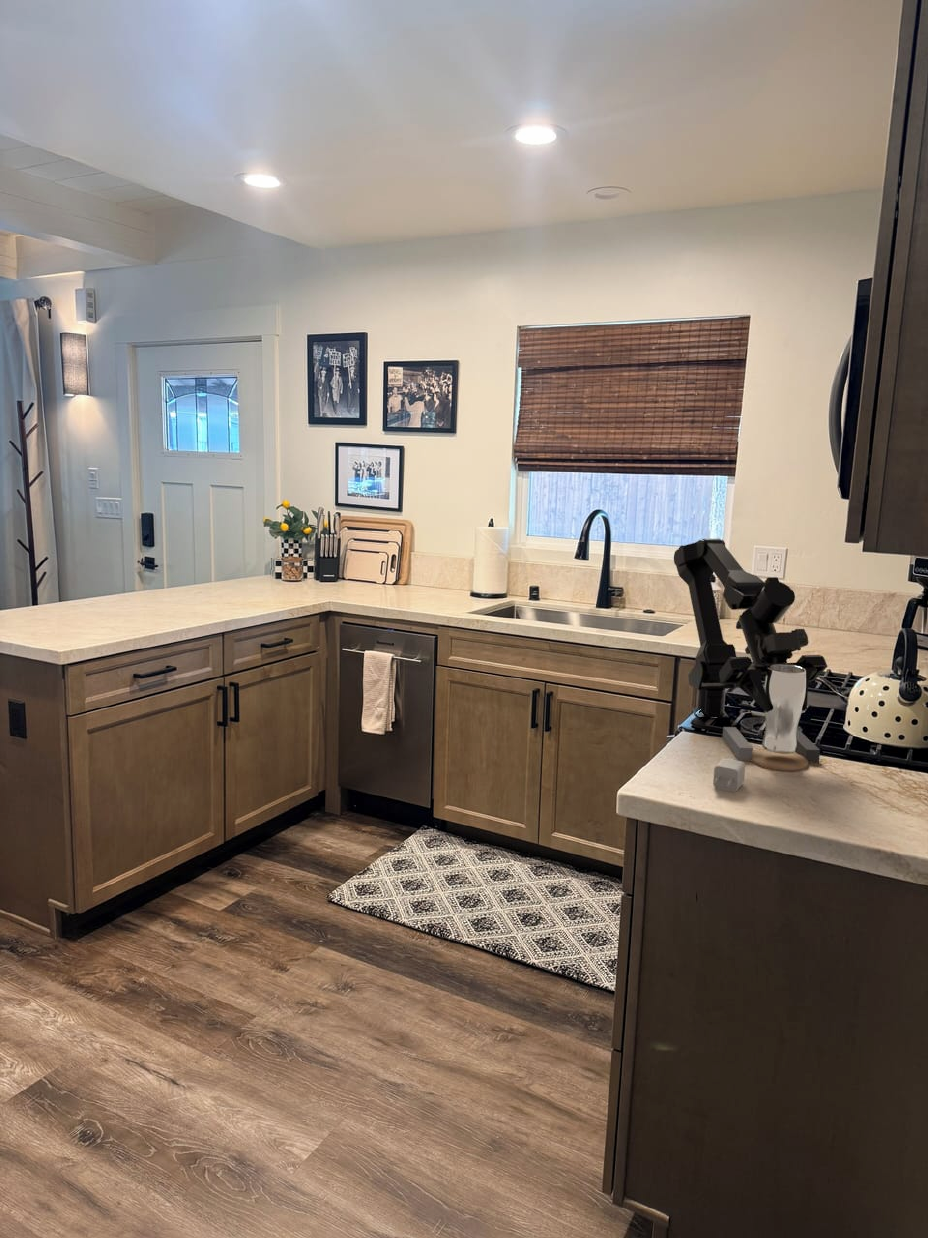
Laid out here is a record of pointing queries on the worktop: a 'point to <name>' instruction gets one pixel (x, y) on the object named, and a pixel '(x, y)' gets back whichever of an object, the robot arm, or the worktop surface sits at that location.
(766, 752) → the coaster
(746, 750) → the grey square beam
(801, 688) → the silver metal cup
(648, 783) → the worktop surface
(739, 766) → the usb wall charger
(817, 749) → the long grey square rod
